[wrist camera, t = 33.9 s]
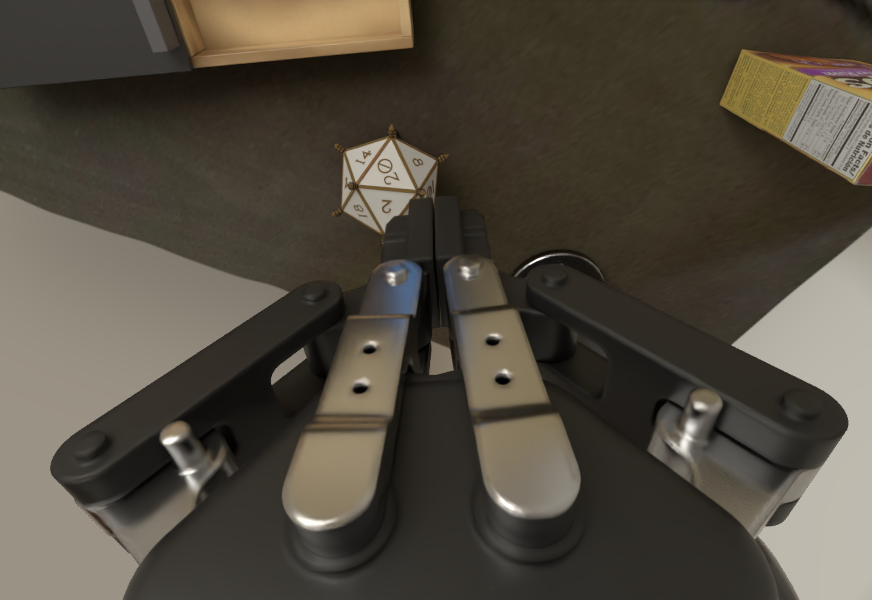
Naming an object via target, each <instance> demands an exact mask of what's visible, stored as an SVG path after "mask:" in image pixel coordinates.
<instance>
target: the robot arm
mask: <svg viewBox="0 0 872 600" xmlns="http://www.w3.org/2000/svg"><path fill="white" fill-rule="evenodd" d="M439 298H440V306H439ZM440 308H441V318H442V327H448V329H449V340H450V350H451V355H452V362H453V369H454V371H450V372H446V373H442V374H438V375H429V368H430V358H431V338H432V328H439V327H440ZM302 347H303V348H304V351H305V354H306V357H307V358H306V359H305V360H304V361H303V362H301V363H300V364H299V365H297V366H296V367H295V368H294V369H292V370H291V371H290V372H289V373H287V374H286V375H285V376H283V377H282V378H281V379H279V380H278V381H277V382H276V383H274V384H273V385H271V377H272V374H273V372H274V370H275V369H276V368H277V367H278V366H279V365H280V364H281V363H283V362H284V361H285V360H287V359H288V358H289V357H291V356H292V355H293V354H294V353H296V352H297V351H298V350H300V349H301V348H302ZM847 428H848V418H847V415H846V413H845V411H844V409H843V408H842V406H841V405H840V404H839V403H838V402H837V401H836V400H835V399H834V398H832V397H831V396H830V395H829V394H827V393H825V392H824V391H823V390H821V389H819V388H817V387H815V386H813V385H811V384H809V383H807V382H805V381H803V380H801V379H799V378H797V377H795V376H793V375H791V374H788V373H786V372H784V371H782V370H780V369H778V368H776V367H774V366H772V365H770V364H768V363H766V362H764V361H762V360H760V359H758V358H756V357H754V356H751V355H750V354H748V353H745V352H744V351H742V350H739V349H737V348H735V347H733V346H731V345H729V344H727V343H725V342H723V341H721V340H719V339H717V338H715V337H713V336H711V335H709V334H707V333H705V332H703V331H701V330H699V329H697V328H695V327H692V326H690V325H688V324H686V323H684V322H682V321H680V320H678V319H676V318H674V317H672V316H670V315H668V314H666V313H664V312H662V311H660V310H658V309H656V308H654V307H652V306H650V305H648V304H646V303H643V302H641V301H639V300H637V299H635V298H633V297H631V296H629V295H627V294H625V293H623V292H621V291H619V290H617V289H615V288H613V287H611V286H609V285H607V284H605V283H604V279H603V276H602V274H601V272H600V270H599V268H598V266H597V265H596V264H595V262H593V261H592V260H591V259H590V258H589V257H587V256H585V255H583V254H581V253H578V252H575V251H570V250H553V251H547V252H544V253H540V254H538V255H535V256H533V257H531V258H530V259H528V260H526V261H525V262H524V263H522V264H521V265H520V266H519V267H518V268H517V269H516V270H515V271H514V273H513V274H512V275H511V276H510V275H507V274H504V273H502V272H500V271H499V270H498V269H497V268H496V265H495V263H494V262H493V261H492V258H491V253H490V247H489V242H488V237H487V231H486V226H485V220H484V217H483V216H482V215H481V214H480V213H479V212H478V211H477V210H476V209H475V210H462V211H459V204H458V195H454V196H441V197H435V214H434V204H433V197H430V198H418V199H409V211H408V215H400V216H394V217H393V218H392V219H391V220H390V221H389V222H388V223H387V224H386V229H385V236H384V243H383V249H382V256H381V263H380V265H379V266H377V267H376V268H375V269H374V270H373V271H372V272H371V274H370V277H369V281H368V284H366V285H365V286H362V287H360V288H357V289H354V290H350V291H347V292H343V293H342V290H341V287H340V286H339V285H338V284H337V283H335V282H332V281H327V280H318V281H312V282H308V283H305V284H303V285H301V286H299V287H297V288H296V289H294V290H293V291H291V292H290V293H288V294H287V295H285V296H284V297H282V298H281V299H279V300H278V301H276V302H275V303H273V304H272V305H270V306H269V307H267V308H265V309H264V310H263V311H261V312H259V313H258V314H256V315H255V316H253V317H252V318H250V319H249V320H247V321H246V322H244V323H242V324H241V325H240V326H238V327H236V328H235V329H233V330H232V331H231V332H229V333H228V334H226V335H224V336H223V337H221V338H220V339H218V340H217V341H215V342H214V343H212V344H211V345H209V346H207V347H206V348H204V349H203V350H201V351H200V352H198V353H197V354H196V355H194V356H192V357H191V358H189V359H188V360H186V361H185V362H183V363H182V364H180V365H179V366H177V367H176V368H174V369H173V370H171V371H169V372H168V373H166V374H165V375H163V376H162V377H160V378H159V379H157V380H156V381H154V382H153V383H151V384H150V385H148V386H146V387H145V388H143V389H142V390H141V391H139V392H137V393H136V394H134V395H133V396H131V397H130V398H128V399H127V400H125V401H124V402H122V403H121V404H119V405H118V406H116V407H114V408H113V409H111V410H110V411H108V412H107V413H105V414H104V415H102V416H101V417H99V418H98V419H96V420H95V421H93V422H92V423H90V424H89V425H87V426H86V427H84V428H82V429H81V430H79V431H78V432H76V433H75V434H74V435H72V436H71V437H70V438H69V439H67V440H66V441H65V442H64V443H63V444H62V445H61V447H60V448H59V449H58V450H57V452H56V453H55V455H54V457H53V459H52V461H51V466H50V470H51V474H52V475H53V477H54V478H55V479H56V480H57V481H58V482H59V483H60V484H61V485H62V486H63V487H64V488H65V489H66V490H67V491H68V492H69V493H70V494H71V495H72V496H73V497H74V500H75V502H76V504H77V505H78V506H79V507H80V508H81V509H82V510H83V511H84V512H85V513H86V514H87V515H88V516H89V517H90V518H91V519H92V520H93V521H94V522H95V523H96V524H97V525H98V526H99V527H100V528H101V529H102V530H103V531H104V532H105V533H106V534H107V535H109V536H112V537H113V538H114V539H115V540H116V541H117V542H118V543H119V544H120V545H121V546H122V547H123V548H124V549H125V550H126V551H127V552H128V553H130V554H131V555H132V556H133V558H134V559H135V560H136V561H137V563H138V564H139V567H138V568H137V570H136V572H135V574H134V576H133V577H132V579H131V581H130V583H129V585H128V587H127V590H126V592H125V595H124V597H123V600H799V598H798V596H797V594H796V592H795V590H794V588H793V586H792V584H791V583H790V581H789V579H788V578H787V576H786V574H785V573H784V571H783V569H782V568H781V566H780V565H779V563H778V561H777V560H776V558H775V556H774V555H773V554H772V552H771V551H770V550H769V549H768V548H767V546H766V545H765V543H764V542H763V541H762V540H761V539H760V538H759V537H758V535H759V533H760V532H761V531H762V529H763V528H764V526H774V525H778V524H780V523H782V522H783V521H784V520H785V519H786V518H787V516H788V515H789V514H790V512H791V511H792V509H793V508H794V506H795V505H796V503H797V502H798V500H799V499H800V497H801V496H802V495H803V493H804V492H805V490H806V488H807V487H808V486H809V484H810V483H811V481H812V480H813V479H814V477H815V476H816V474H817V473H818V471H819V469H820V468H821V467H822V465H823V464H824V463H825V461H826V460H827V458H828V457H829V455H830V454H831V452H832V451H833V449H834V448H835V446H836V445H837V444H838V442H839V441H840V439H841V438H842V436H843V435H844V433H845V431H846V430H847Z"/></svg>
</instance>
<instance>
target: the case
mask: <svg viewBox="0 0 872 600" xmlns="http://www.w3.org/2000/svg"><path fill="white" fill-rule="evenodd" d="M170 2H171V5H172V8H173V11H174V13H175V16H176V19H177V22H178V25H179V27H180V30H181V33H182V36H183V39H184V41H185V44H186V47H187V50H188V53H189V55H190V58H191V61H192V64H193V67H194V68H201V67H212V66H223V65H233V64H244V63H255V62H266V61H277V60H287V59H298V58H309V57H320V56H330V55H341V54H352V53H363V52H373V51H384V50H395V49H406V48H413V46H414V28H413V18H412V8H411V0H170Z"/></svg>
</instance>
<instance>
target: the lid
mask: <svg viewBox="0 0 872 600" xmlns="http://www.w3.org/2000/svg"><path fill="white" fill-rule="evenodd" d="M192 70H194V67H193V64H192V61H191V58H190V55H189V53H188V50H187V47H186V44H185V41H184V39H183V36H182V33H181V30H180V27H179V25H178V22H177V19H176V16H175V13H174V11H173V8H172V5H171V2H170V0H0V89H4V88H15V87H26V86H37V85H47V84H58V83H69V82H80V81H91V80H101V79H112V78H123V77H134V76H145V75H156V74H166V73H177V72H188V71H192Z"/></svg>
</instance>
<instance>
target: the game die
mask: <svg viewBox="0 0 872 600" xmlns="http://www.w3.org/2000/svg"><path fill="white" fill-rule="evenodd" d="M387 130H388V134H389V136H386V137H383V138H380V139H377V140H374V141H371V142H368V143H365V144H361V145H358V146H355V147H352V148H349V149H344V147H343V146H342V145H341V144H334V145H335V148H336V150H338V151H339V152H342V153H343V167H342V193H341V209H337V210H334V212H333V214H332V215H331V216H337V217H338V216H339V215H341V213H343V212H344V213H345V214H347V215H349V216H350V217H352V218H354V219H355V220H357V221H359V222H360V223H362V224H364V225H366V226H367V227H369V228H371V229H372V230H374V231H376V232H377V233H379V234H381V235H382V236H383V237H382V238H381V243H382V245H383V243H384V236H385V229H386V224H387V223H388V222H389V221H390V220H391V219H392V218H393V217H394V216H400V215H408V211H409V199H418V198H430V197H433V204H434V207H435V196H436V186H437V175H438V164H439V162H443V161H444V160H446V158H447V157H448V155H446V154H443V153H442V155H439V157H438V158H435V157H433V156H431V155H429V154H427V153H425V152H423V151H422V150H420V149H418V148H416V147H414V146H412V145H410V144H408V143H406V142H404V141H402V140H400V139H398V138H397V137H396V136H397V134H398V133H397V131H396V130H395V128H394V127H393V125H391V126H390V127H389V128H388V129H387Z"/></svg>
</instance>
